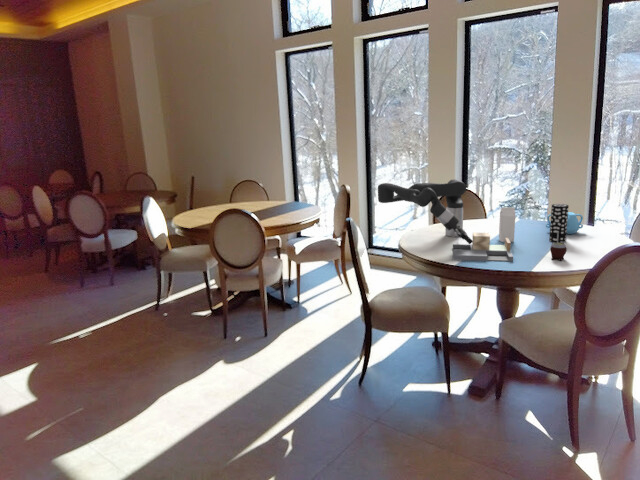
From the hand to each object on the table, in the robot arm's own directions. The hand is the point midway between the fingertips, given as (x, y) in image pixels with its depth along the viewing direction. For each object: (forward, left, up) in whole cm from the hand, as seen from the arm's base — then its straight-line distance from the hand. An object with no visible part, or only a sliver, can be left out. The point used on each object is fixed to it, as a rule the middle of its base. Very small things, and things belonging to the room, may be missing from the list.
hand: (471, 242), depth 260 cm
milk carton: (+10, +32, -5) cm, 34 cm away
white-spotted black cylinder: (+35, +42, -5) cm, 55 cm away
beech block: (+4, +2, -3) cm, 6 cm away
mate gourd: (+41, +4, -5) cm, 42 cm away
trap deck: (+6, -3, -5) cm, 8 cm away
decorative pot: (+35, +64, -5) cm, 74 cm away
